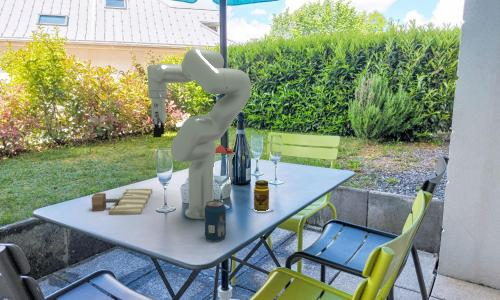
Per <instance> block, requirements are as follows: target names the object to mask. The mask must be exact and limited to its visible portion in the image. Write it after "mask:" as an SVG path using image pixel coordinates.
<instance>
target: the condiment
mask: <svg viewBox="0 0 500 300" xmlns="http://www.w3.org/2000/svg"><path fill="white" fill-rule="evenodd" d="M253 190H254V191H253V206H254V209H255V210H257V211H266V210H268V209H269V208H270V188H269V182H268V180H265V179H263V180H262V179H259V180H256V181H255V183H254V188H253Z"/></svg>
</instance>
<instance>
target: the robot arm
mask: <svg viewBox="0 0 500 300" xmlns="http://www.w3.org/2000/svg"><path fill="white" fill-rule="evenodd" d="M224 64H225V60H224V57H223V55H222V54H221V53H220V52H219V51H217V50H215V49H207V48H196V47H195V48H191V49H188V50H187V52H185V54H184V56H183V59H182V61H181V64H178V63H177V64H175V63H158V64H150V65H148V66H147V68H146V69H147V70H146V71H147V92H148V93H147V96H148V97H147V98H148V99H149V100H151V102H150V105H151V106H150V107H151V122H152V123H153V125H152V137H153V138H162V135H164V134H165V125H164V124H165V122H166V121H167V112H166V111H167V110H166V100H167V98H168V93H167V90H168V88H167V87H168V86H167V84H184V83H185V84H186V83H190V82H193V81H195V82H196V84H198V85H199V87H200V88H201V89H202V90H204V91H205V92H206V93H208V94H210V95H223V96H222V97H221V98H219V100H218V101H216V102H215V103H214V105H213V107H212V108H211V110H210V111H209V112H208V113H207V114H206V113H205V114H201V115H200V114H198V115H193V116H190V117H188V118H187V119H186V120H185V121H184V122H183V123H182V125H181V126H180V128H179V129H178V131H177V133H176V134H175V136H174V138H173V140H172V142H171V145H170V154H171V157H172V158H173V159H174V161H176V162H179V163H187V162H190V164H189V167H188V173H187V174H188V175H187V176H188V208H187V209H186V210H185V212H184V213H185V215H184V216H186V217H187V218H189V219H193V220H205V207H206V203H207V202H209V201H215V200H214V191H215V190H214V185H213V167H214V157H215V152H216V148H217V144H216V141H217V140H220V139H221V138H222V137H223V136H224V135H225V133H226V132H227V130H228V129H229V128H230V126H231V125H232V124H233V122H234V120H235V119H236V117H238V115H239V114H240V113H241V111H242V110H243V109H244V107H245V106H246V105H247V103H248V102H249V99H250V97H251V94H252V93H251V92H252V83H251V78H250V77H249V75H248V74H247V73H246V72H245V71H243V70H241V69H238V68H227V67H225V68H224Z"/></svg>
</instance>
